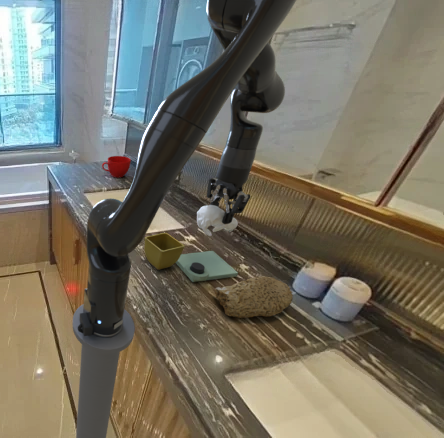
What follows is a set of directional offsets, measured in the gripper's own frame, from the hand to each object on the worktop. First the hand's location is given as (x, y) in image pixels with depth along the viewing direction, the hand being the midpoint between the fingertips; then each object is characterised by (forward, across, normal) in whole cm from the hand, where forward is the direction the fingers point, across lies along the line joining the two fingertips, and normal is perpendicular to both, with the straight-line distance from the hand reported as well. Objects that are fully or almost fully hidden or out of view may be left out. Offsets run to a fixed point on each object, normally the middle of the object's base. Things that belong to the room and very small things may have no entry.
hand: (218, 218), depth 84 cm
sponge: (+18, -18, -2) cm, 25 cm away
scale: (+18, -1, +1) cm, 18 cm away
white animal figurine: (+5, 0, 0) cm, 5 cm away
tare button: (+15, -5, +6) cm, 17 cm away
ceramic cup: (+18, +85, 0) cm, 87 cm away
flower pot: (+18, +3, +14) cm, 23 cm away
